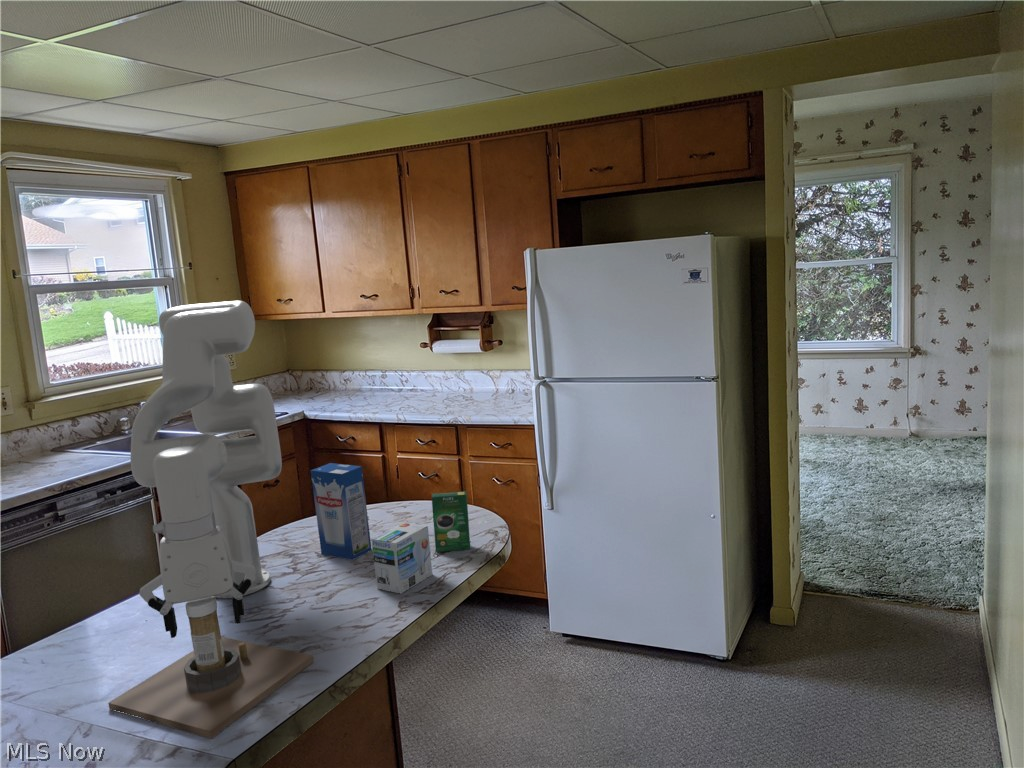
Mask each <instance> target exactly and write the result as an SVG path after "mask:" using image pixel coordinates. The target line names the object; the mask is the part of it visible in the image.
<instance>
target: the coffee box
mask: <svg viewBox="0 0 1024 768" xmlns="http://www.w3.org/2000/svg"><path fill="white" fill-rule="evenodd" d="M431 506H432V507H431V508H432V517H433V518H432V521H433V531H434V543H435V553H441V552H443V553H445V552H453V551H464V550H470V549H471V538H470V521H469V510H468V494H467V491H466V490H465V491H454V492H453V491H452V492H441V493H439V492H438V493H431Z"/></svg>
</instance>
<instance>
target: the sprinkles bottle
mask: <svg viewBox="0 0 1024 768" xmlns="http://www.w3.org/2000/svg"><path fill="white" fill-rule="evenodd" d="M185 611H186V612H185V613H186V616H187V617H188V622H189V628H190V636H191V643H192V648H193V649H192V650H193V651H194V655H195V661H196V665H197V670H198V672H205V671H212V670H215V669H218V668H221V667H223V666H224V665H226V664H225V658H224V649H223V643H222V638H221V637H222V635H221V629H220V623H219V622H220V621H219V617H218V603H217V599H216V597H215V596H212V597H208V598H203V599H198V600H193V601H188V602H185Z"/></svg>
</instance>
